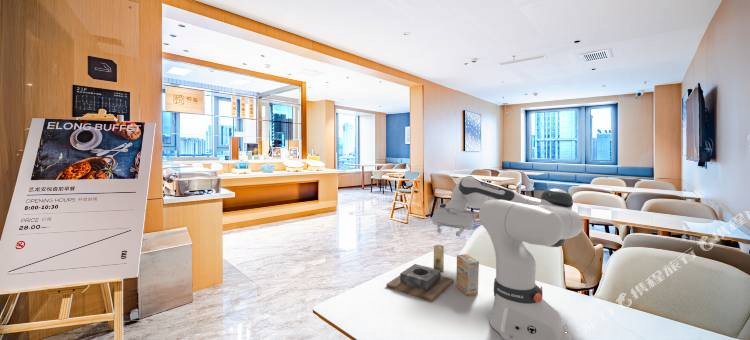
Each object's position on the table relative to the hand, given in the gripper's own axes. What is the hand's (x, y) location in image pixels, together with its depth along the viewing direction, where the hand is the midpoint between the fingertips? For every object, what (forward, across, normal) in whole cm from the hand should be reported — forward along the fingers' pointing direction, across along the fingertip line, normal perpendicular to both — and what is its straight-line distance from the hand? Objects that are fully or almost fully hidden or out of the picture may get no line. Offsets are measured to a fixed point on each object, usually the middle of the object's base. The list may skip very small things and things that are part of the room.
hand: (447, 234), depth 145 cm
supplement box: (+26, -17, +5) cm, 31 cm away
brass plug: (+18, 0, -2) cm, 18 cm away
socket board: (+29, 0, +10) cm, 31 cm away
